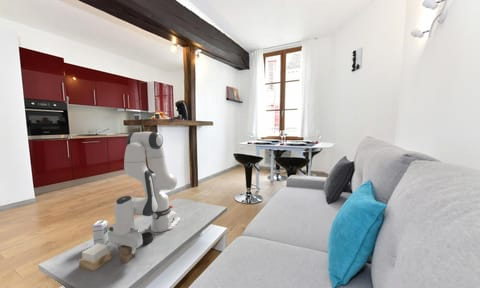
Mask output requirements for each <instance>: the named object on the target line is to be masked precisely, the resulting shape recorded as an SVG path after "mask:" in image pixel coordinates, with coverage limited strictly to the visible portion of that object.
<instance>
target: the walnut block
mask: <svg viewBox="0 0 480 288" xmlns="http://www.w3.org/2000/svg"><path fill="white" fill-rule="evenodd" d="M119 249H120V251H119V259H120V260H119V261H120V262H121V263H122V262H123V263H126V264H128V263H130V262H131V261H132V260H133V259H134V258H136V252H135V253H134V254H131V250H132V249H133V248H132V247H130V246H126V245H121V246H120V247H119Z"/></svg>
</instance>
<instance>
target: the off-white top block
mask: <svg viewBox="0 0 480 288" xmlns="http://www.w3.org/2000/svg"><path fill="white" fill-rule="evenodd" d="M108 253H109V245H108V244H107V245H103V244H99V243H97V244H95V245H94V244H93V245H92V246H90V247H89V248H87V249H85V250H84V251H82V252H81V256H82V258H83V260H86V261H90V262H93V263H94V262H96V261H97V260H99V259H100V258H102V257H103V256H105V255H106V254H108ZM82 258H81V259H82Z"/></svg>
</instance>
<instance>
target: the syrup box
mask: <svg viewBox="0 0 480 288" xmlns="http://www.w3.org/2000/svg"><path fill="white" fill-rule="evenodd" d="M108 224H109V223H108V219H107V220H106V219H103V220H97V221H96V222H95V223H94V224H93V225H91V226H92V228H91V229H92V235H93V237H92V238H93V246H94V245H95V244H97V243H99V244H103V245H107V246H108V244H109V242H110V240H109V230H108V227H109V225H108Z"/></svg>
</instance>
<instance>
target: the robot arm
mask: <svg viewBox="0 0 480 288" xmlns="http://www.w3.org/2000/svg"><path fill="white" fill-rule="evenodd" d="M163 143H164V138H163V135H162V134H161V133H160V132H157V131H140V132H131V133H129V134H128V135H127V137H126V147H125V152H124V158H123V159H124V160H123V161H124V164H123V169H124V172H125V173H126V175H128V176H129V177H131V178H134V179H135V180H137V181H140V182H141V185H142V186H143V190H144V197H132V196H129V195H123V196H120V197H119V198H117V199H116V200H115V204H114V218H115V222H114V223H113V224H111V225H110V226H108V232H109V242H110V243H114V245H115V246H116V250H117V251H119V252H120V249H119V247H120V246H122V245H126V246H130V247H132V248H133V249H132V250H131V254H134V253H135V254H136V249H138V248H139V247H141V246H143V245H142V244H143V240H142V235H141V234H142V232H141V231H140V230H139V229H138V228H137V229H135V218H134V216H144V217H151V219H150V220H151V221H150V232H152V233H162V232H165V231H170V230H173V229H174V228H175V227H176V225H177V224H178V223H179V222H180V221H181V217H180V216H178V214H177V212H175V210H172V209H173V207H174V206H173V205H171V204H170V202H169V201H170V200H169V196H168V194H166V193H165V192H164V191H172V190H175V189H176V187H177V185H178V179H177V177H176V176H175V175H174V174H172V172H170V170H169V168H168V166H167V162H166V157H165V151H164V146H163ZM146 161H147V162H146ZM147 166H148V167H147ZM151 171H152V172H153V173H152V172H151ZM169 204H170V205H169Z"/></svg>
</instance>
